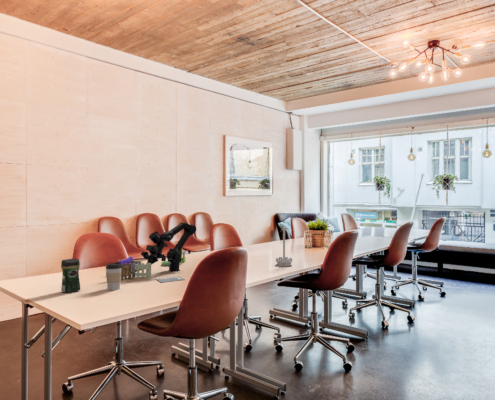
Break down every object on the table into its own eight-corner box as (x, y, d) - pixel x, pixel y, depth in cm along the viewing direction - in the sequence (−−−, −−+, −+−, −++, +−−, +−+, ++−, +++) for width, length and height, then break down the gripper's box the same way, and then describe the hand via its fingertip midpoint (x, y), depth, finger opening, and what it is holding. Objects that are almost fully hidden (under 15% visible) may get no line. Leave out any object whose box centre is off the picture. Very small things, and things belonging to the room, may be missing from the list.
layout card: (179, 276, 259) (179, 276, 259) (184, 279, 250) (184, 279, 250) (155, 279, 251) (155, 278, 251) (160, 282, 242) (160, 282, 242)
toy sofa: (128, 275, 263) (128, 260, 262) (116, 275, 264) (116, 260, 264) (142, 269, 283) (142, 255, 283) (131, 269, 285) (131, 255, 285)
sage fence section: (131, 277, 253) (131, 263, 253) (132, 277, 255) (132, 262, 255) (150, 277, 253) (150, 263, 253) (151, 277, 255) (151, 262, 255)
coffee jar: (76, 288, 226) (76, 257, 226) (81, 291, 220) (81, 258, 220) (59, 291, 219) (59, 259, 219) (64, 294, 214) (64, 260, 213)
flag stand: (293, 266, 297) (293, 227, 296) (276, 266, 297) (276, 227, 296) (291, 263, 310) (291, 226, 309) (275, 263, 310) (275, 226, 309)
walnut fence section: (130, 278, 254) (130, 263, 254) (131, 278, 253) (131, 263, 253) (112, 280, 248) (112, 264, 248) (113, 280, 247) (113, 265, 247)
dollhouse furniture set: (160, 266, 296) (160, 252, 296) (171, 260, 324) (171, 247, 324) (178, 267, 294) (178, 252, 294) (187, 260, 323) (188, 247, 323)
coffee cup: (112, 291, 220) (112, 265, 220) (102, 289, 225) (102, 263, 224) (125, 288, 228) (125, 262, 227) (115, 286, 232) (114, 261, 232)
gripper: (142, 239, 267) (130, 257, 258) (163, 241, 258) (151, 260, 248) (150, 249, 274) (139, 267, 265) (171, 251, 265) (159, 270, 255)
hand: (147, 266), depth 258 cm, fingers closed
